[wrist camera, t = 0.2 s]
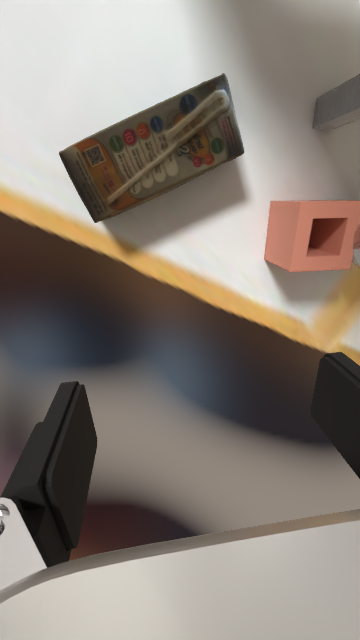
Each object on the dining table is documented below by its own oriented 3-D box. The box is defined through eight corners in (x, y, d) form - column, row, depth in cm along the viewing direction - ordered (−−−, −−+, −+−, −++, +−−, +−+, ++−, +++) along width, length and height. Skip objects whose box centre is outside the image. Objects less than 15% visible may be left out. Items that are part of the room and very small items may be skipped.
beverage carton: (232, 161, 35) (250, 154, 29) (100, 222, 36) (91, 227, 30) (212, 89, 32) (228, 64, 26) (67, 159, 33) (50, 150, 27)
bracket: (270, 201, 38) (300, 201, 30) (341, 200, 39) (387, 200, 31) (264, 259, 41) (289, 271, 34) (329, 256, 42) (368, 268, 35)
